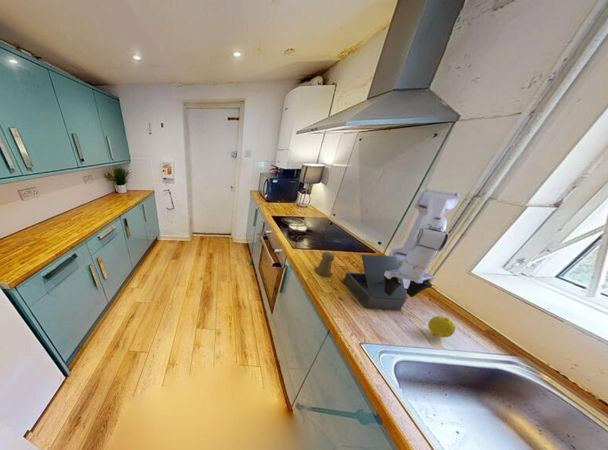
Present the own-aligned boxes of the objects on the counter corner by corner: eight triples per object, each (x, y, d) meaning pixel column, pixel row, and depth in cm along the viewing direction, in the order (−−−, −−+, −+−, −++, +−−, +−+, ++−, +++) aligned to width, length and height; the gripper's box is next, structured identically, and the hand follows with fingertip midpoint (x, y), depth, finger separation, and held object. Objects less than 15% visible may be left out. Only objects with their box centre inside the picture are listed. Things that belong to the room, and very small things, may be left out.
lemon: (450, 345, 64) (463, 328, 61) (426, 337, 67) (438, 320, 63) (443, 332, 68) (455, 316, 65) (421, 325, 71) (432, 308, 68)
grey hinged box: (343, 281, 92) (346, 272, 89) (372, 283, 91) (377, 274, 89) (365, 307, 78) (370, 297, 75) (400, 310, 77) (406, 299, 75)
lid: (361, 255, 81) (368, 253, 77) (395, 257, 80) (404, 255, 77) (369, 296, 76) (378, 296, 72) (405, 299, 75) (416, 299, 71)
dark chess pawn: (331, 276, 94) (338, 257, 90) (318, 275, 95) (324, 255, 91) (327, 269, 100) (333, 250, 95) (314, 267, 101) (320, 249, 96)
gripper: (403, 269, 62) (386, 301, 68) (451, 272, 61) (430, 304, 67) (386, 256, 68) (371, 287, 74) (430, 259, 68) (411, 289, 73)
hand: (398, 294), depth 71 cm, fingers open, 7 cm apart
